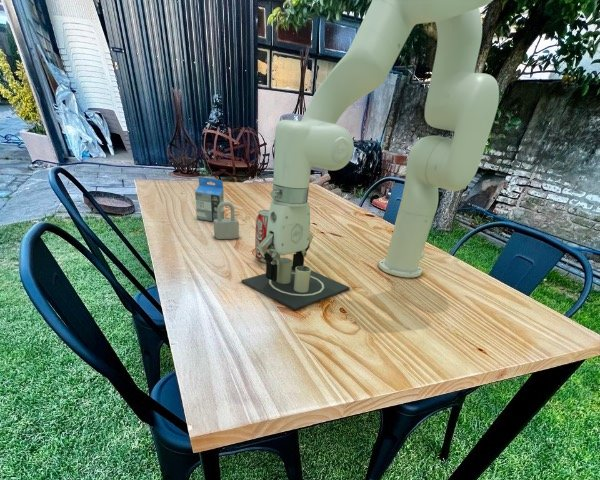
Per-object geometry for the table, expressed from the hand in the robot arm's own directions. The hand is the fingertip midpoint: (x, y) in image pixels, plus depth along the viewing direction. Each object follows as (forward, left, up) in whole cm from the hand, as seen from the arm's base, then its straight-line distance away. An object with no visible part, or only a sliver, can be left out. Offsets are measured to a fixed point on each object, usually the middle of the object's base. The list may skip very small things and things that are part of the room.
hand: (284, 275), depth 85 cm
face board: (-1, +3, -2) cm, 4 cm away
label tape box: (-16, -53, -2) cm, 56 cm away
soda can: (-7, -14, -2) cm, 16 cm away
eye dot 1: (0, 0, -1) cm, 1 cm away
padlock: (-9, -35, -2) cm, 36 cm away
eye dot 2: (0, +6, -1) cm, 6 cm away
